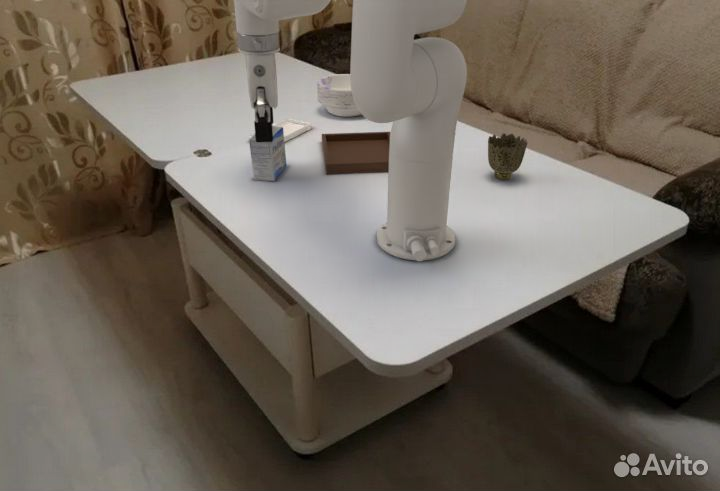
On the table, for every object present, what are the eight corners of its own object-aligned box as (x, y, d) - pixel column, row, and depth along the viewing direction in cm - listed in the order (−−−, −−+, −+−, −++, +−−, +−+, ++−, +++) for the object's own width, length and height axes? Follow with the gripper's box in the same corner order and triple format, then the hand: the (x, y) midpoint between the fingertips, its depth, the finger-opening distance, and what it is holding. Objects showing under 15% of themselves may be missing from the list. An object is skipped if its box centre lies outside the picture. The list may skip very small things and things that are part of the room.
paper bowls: (385, 116, 150) (386, 85, 146) (329, 124, 146) (328, 91, 142) (363, 100, 163) (363, 70, 159) (310, 106, 158) (309, 76, 154)
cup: (493, 187, 114) (499, 148, 110) (477, 172, 120) (481, 134, 116) (528, 183, 116) (534, 144, 112) (510, 168, 122) (515, 131, 118)
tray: (403, 171, 121) (403, 161, 120) (326, 174, 119) (326, 164, 118) (389, 140, 136) (390, 131, 135) (321, 143, 134) (321, 133, 133)
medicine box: (274, 182, 116) (270, 140, 112) (253, 180, 117) (248, 138, 113) (287, 166, 123) (283, 126, 118) (266, 165, 124) (262, 125, 119)
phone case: (273, 147, 132) (312, 128, 143) (273, 142, 131) (312, 122, 142) (248, 141, 135) (287, 123, 146) (247, 136, 134) (287, 117, 145)
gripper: (279, 53, 100) (284, 148, 109) (279, 31, 115) (284, 117, 124) (234, 54, 99) (243, 149, 108) (240, 32, 114) (247, 118, 123)
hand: (265, 132), depth 116 cm, fingers open, 9 cm apart
